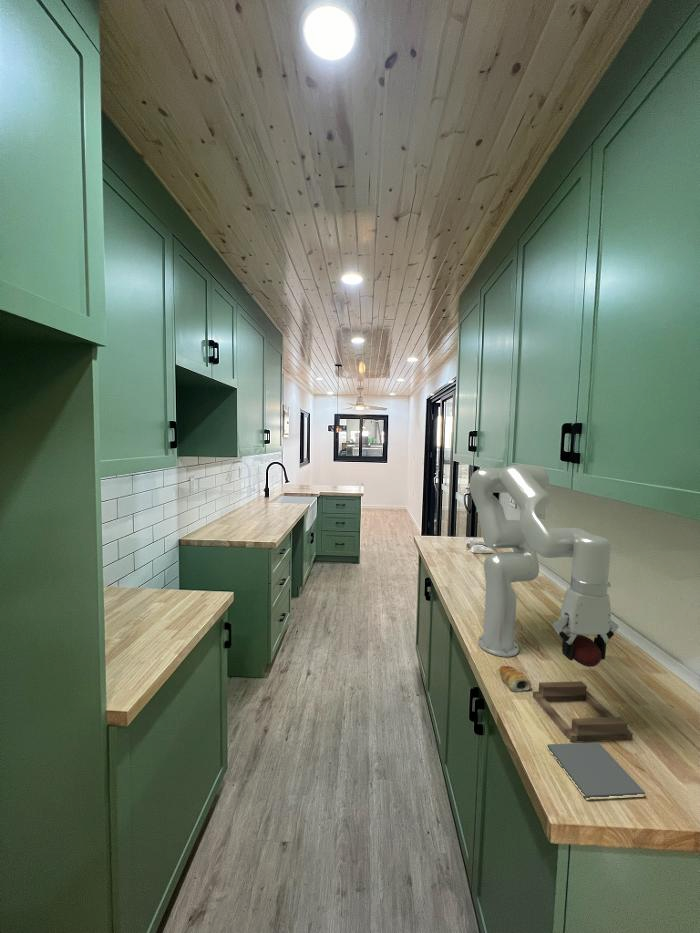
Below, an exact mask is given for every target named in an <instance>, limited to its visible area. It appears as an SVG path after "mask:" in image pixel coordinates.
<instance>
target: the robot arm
mask: <svg viewBox="0 0 700 933" xmlns="http://www.w3.org/2000/svg"><path fill="white" fill-rule="evenodd" d="M469 479H470V480H469V491H470V496H471V497H472V498H471V499H472V500H473V503H474V506H475V507H476V511H477V515H478V517H477V518H478V521H479V525H480V526H479V527H480V531H481V536H482V540H483V542H484V544H485V546H486V547H487V548H489V549H490V548H491V549H499V550H500V549H501V550H502V549H511V550H512V551H505V552H504V551H501V552H500V551H499V552H494V553H491V554H489V555H487V556H486V557H485V559H484V561H483V570H484V578H485V579H484V580H485V594H484V597H485V598H484V599H485V600H484V613H483V614H484V615H483V616H484V617H483V624H482V628H483V633H482V635H480V636H479V637H478V638H477V639H478V640H477V643H478V646H479V647H480V648H481V649H482V650H484V651H485V652H487V653H489V654H491V655H494V656H498V657H503V658H504V657H505V658H507V657H508V658H509V657H510V658H511V657H514V656H517V654H519V652H520V647H519V645H518V643H517V642H516V641H515V630H516V615H517V614H516V612H517V594H516V591H515V590H514V587H512V583H516V582H518V583H519V582H531V581H534V580H535V579H537V578H538V577H539V574H540V563H539V559H538V555H539V556H541V557H543V558H549V559H555V558H571V559H572V560H571V572H570V587H569V588H566V591H565V593H564V596H563V600H562V604H561V610H560V617H559V619H557V620H556V621H555V622H554V623H552V626H551V627H552V628H553V629H554V631H555V632H556V634H557V635H558V636H559V637H560V639H561V640H562V642H561V643H562V644H561V654H562V655H563V656H564V657H565V658H566V659H568V660H569V661H574V659H573V657H574V644H572V642H573V641H574V639H575V637H576V636H577V635H583V636H588V635H591V636H593V635H595V636H596V637H593V638H594V639H593V642H594V643H595V644H596V645H597V646H598V647H599V649H600V650H601V655H602V658H601V660H606V653H607V644H609V643H610V639H611V638H612V637H613V636H614V635H615V633H616V632H617V630H618V629H619V628H620V626H619V624H618V623H616V622H615V621H614V620H613V619H611V618H612V615H611V614H612V612H611V610H612V609H611V599H610V595H609V594H608V588H610V587H612V586H611V582H610V581H609V575H610V562H611V560H610V559H611V549H612V545H611V542H610V540H608V538H605V537H603V536H600V535H596V534H591V533H590V532H587V531H586V530H583V529H582V528H578V527H546V526H545V525H544V523H543V522H542V521H541V520H540V519H539V517H538V515H540V514H541V513H543V512H544V511H546V509H547V508H548V507H549V505H550V503H551V497H550V496H549V495H550V494H549V493H548V492H546V489H547V488H548V487H549V484H550V476H549V474H548V472H547V471H546V469H545V468H543V467H542V466H540V465H535V464H533V465H532V464H528V465H527V464H513V465H509V466H506V467H484V468H479V469H477V470H475V471H474V472H473V473H472V475H471V476H470V478H469ZM495 493H499V494H500V493H501V494H502V493H504V494H505V493H507V494H509V496H510V497H511V499H513V501H514V502H515V503H516V505H517V507H518V508H519V509H520V510H521V512H520V516H519V519H507V518H506V515H505V512H504V511H505V510H504V507H503V505H502V503H501V501H500V500H499V499H498V498H497V497H496V496H495V495H494V494H495ZM537 554H538V555H537ZM563 627H564V629H563Z"/></svg>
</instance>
